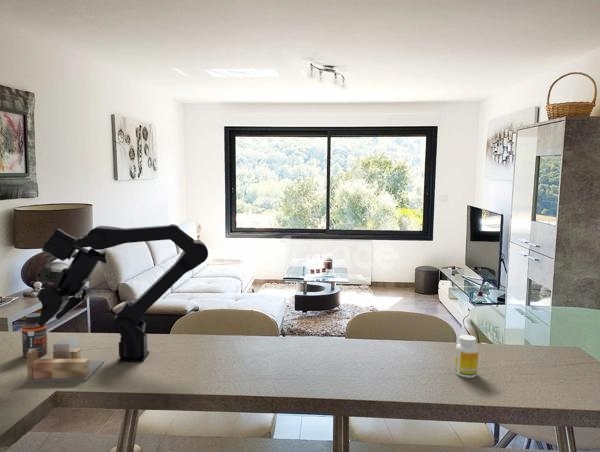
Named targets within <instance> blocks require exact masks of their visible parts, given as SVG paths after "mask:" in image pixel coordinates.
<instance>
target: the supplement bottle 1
mask: <svg viewBox="0 0 600 452" xmlns="http://www.w3.org/2000/svg"><path fill="white" fill-rule="evenodd" d="M40 314H41V312H34V313H28V314H26V315H25V319H24V321H25V322H24V323H22V325H21V340H22V342H21V343H22V355H23V357H24V358H27V353H28V352H29V351H31V350H32V349H37V352H38V358H39V357H43V356H44V355H46V354H47V353H48V333H47V323H46V324H45V325H43V326H40V325H38V323H39V319H40Z"/></svg>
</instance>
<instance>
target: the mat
mask: <svg viewBox="0 0 600 452" xmlns="http://www.w3.org/2000/svg"><path fill="white" fill-rule="evenodd" d="M104 363H105V360H89V375H88V376H87V377H86V378H38V379H28V378H27V380H26V382H28V383H31V382H32V383H33V382H34V383H35V382H38V383H40V382H41V383H42V382H43V383H44V382H47V383H48V382H87V381H88V380H89V379H90V378H91V377H92V376H93V375H94V374H95V373H96V372H97V370H98V369H100V368H101V366H102V365H103V364H104Z"/></svg>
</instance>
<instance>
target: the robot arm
mask: <svg viewBox="0 0 600 452" xmlns="http://www.w3.org/2000/svg"><path fill="white" fill-rule="evenodd" d="M169 240H170V241H171V242H173V243H174V244H175V246H177V247H178V248H179V249H180V250H181V251H182V252H181V253H180V255H179V257H178V258H177V259H176V261H175V263H173V264H172V265H171V266H170V267H169V268H168V269H167V270H166V271H165V272H164V273H163V274H162V275H161V276H159V278H157V280H156V281H154V282H153V284H151V285H150V286H149V287H148V288H147V289H146V290H145V291H144V292H143V293H142V294H141V295H140V296H138V297H137V298H136V299H134V300H133V301H132V300H131V299H130V298H127V300H125V302H124V303H123V304H122V305H121V306H118V307H117V309H116V312H115V317H114V319H113V321H112V328H113V330H114V331H115V332H116V333H117V334H119V335H120V337H119V339H120V340H119V342H118V356H119V357H118V362H121V363H123V362H126V363H128V362H139V363H140V362H144V361H145V359H146V358H147V357H148V356H149V355H150V351H149V350H148V333H146V332H145V329H146V325H147V324H146V322H145V321H144V320H143V317H144V316H145V314H146V313H147V311H148V310H149V309H150V308H151V307H152V306H154V304H155V303H156V302H157V301H158V300H159V299H160V298H161V297H162V296H163V295H164V294H166V292H168V291H169V290H170V289H171V288H172V287H173V285H175V284H176V283H177V282H178V281H179V280H180V279H181V278H182V277H183V276H184V275H185V274H187V273H189V272H190V271H193V270H194V269H196V268H197V267H199V266H201V264H203V263H204V262H205V261H206V260H208V257H209V251H208V248H207V245H206V244H205V243H204V242H203V241H201V240H197V239H194V238H193V237H192V236H190V235H189V234H188V233H186V232H185V231H184V230H182V229H181V228H180V226H178V225H177V224H174V223H171V224H168V225H157V226H156V225H154V226H153V225H152V226H142V227H129V228H124V227H118V226H109V225H98V226H96V227H94V228H92V229H90V230H89V231H88V233H87V234H85V235H81V236H79V237H74V236H73V235H70V234H69V233H66V231H64V230H63V229H60V228H57V229H55V231H54V232H53V233H52V234H51V236H50V237H49V238H48V239H47V240H46V241H45V243H44V245H43V246H42V249H41V252H43V253H46V254H47V255H49V256H52V257H54V258H55V259H58V260H59V261H61V262H64V261H66V260H69V261H70V260H71V259H72V258H73V259H72V260H71V262H70V264H69V266H68V267H65V268H63V269H60V268H59V269H57V268H52V267H51V266H50V267H47V266H41V267H40V268H38V269H37V272H35V276H36V277H37V280H36V281H37V282H40V283H41V282H45V283H51V284H52V286H48V287H44V288H41V289H39V291H38V293H37V294H36V298H38V301H39V302H40V303H41V311H40V313H41V314H40V319H39V323H38V325H40V326H43V325H45V324H46V325H47V323H48V322H50V321H51V320H52V319H53V318H55V319H57V320H61V319H62V318H63V317H65V316H66V315H67V314H68V313H70V312H71V311H73V310H74V309H75V308H77V307H78V306H79V305H81V304H82V303H83V302H85V301H86V300H87V299H89V297H90V296H91V294H92V291H91V288H90V287H88V286H86V284H87V283H88V282H90V281H91V280H92V277H91V276H92V274H93V272H94V271H95V269H96V267H97V266H98V264H99V262H102V264H107V263H108V261H109V257H108V256H107V251H104V252H101V251H102V250H105V249H109V248H114V247H116V246H120V245H123V244H132V243H142V242H143V243H144V242H156V241H169ZM88 248H90V249H88ZM76 251H77V253H76ZM75 253H76V254H75ZM74 255H75V256H74ZM73 256H74V257H73Z"/></svg>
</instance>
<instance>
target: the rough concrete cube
mask: <svg viewBox="0 0 600 452" xmlns="http://www.w3.org/2000/svg"><path fill="white" fill-rule="evenodd" d="M52 347H53V349H52V350H53V351H54V359H72V352H73V351H74V350H75V349H76V348H80V339H79V336H63V337H61V338H60V339H59V340H58V341H56V342H54V343H53V345H52Z"/></svg>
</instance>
